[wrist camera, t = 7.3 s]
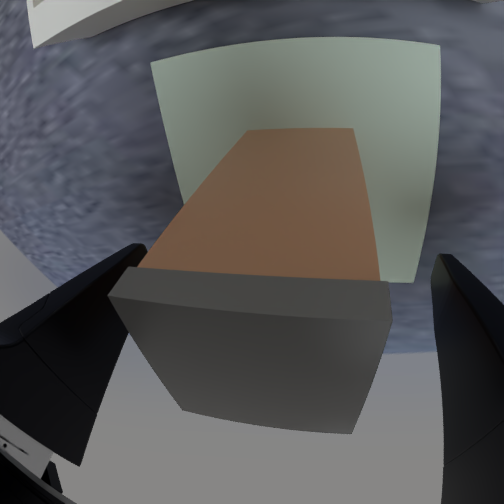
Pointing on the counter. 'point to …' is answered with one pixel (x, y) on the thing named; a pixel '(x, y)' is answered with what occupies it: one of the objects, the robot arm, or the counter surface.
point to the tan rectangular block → (267, 287)
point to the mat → (318, 118)
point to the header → (90, 17)
